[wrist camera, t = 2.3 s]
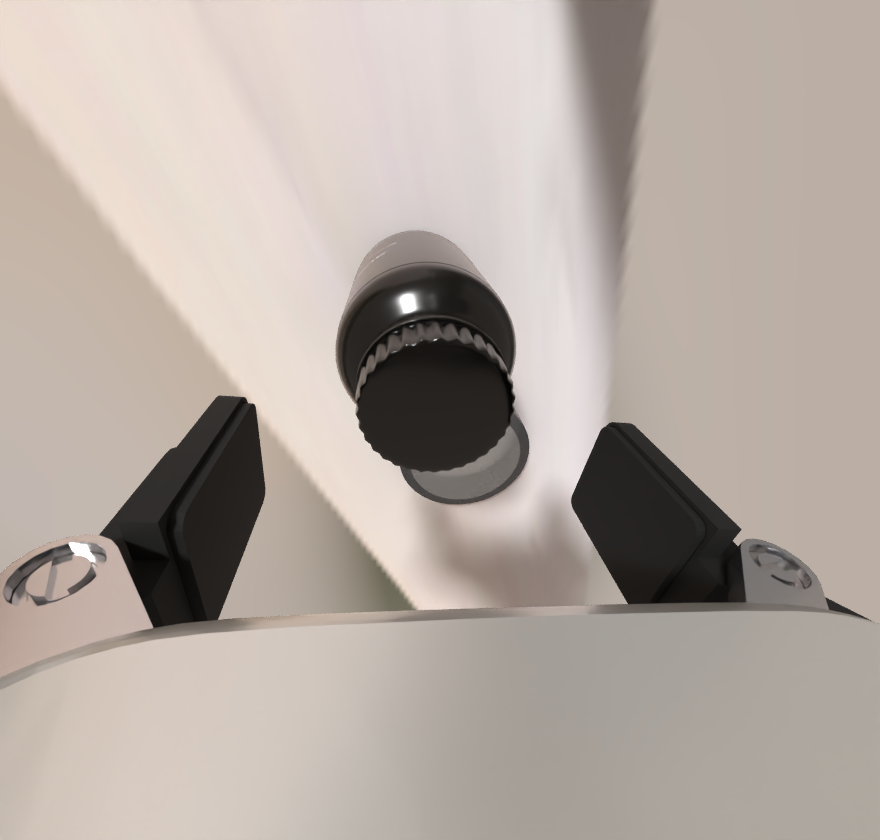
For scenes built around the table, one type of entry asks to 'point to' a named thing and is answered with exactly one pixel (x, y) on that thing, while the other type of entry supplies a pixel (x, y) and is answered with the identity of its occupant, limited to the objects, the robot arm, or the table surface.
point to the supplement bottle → (426, 354)
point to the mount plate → (476, 471)
